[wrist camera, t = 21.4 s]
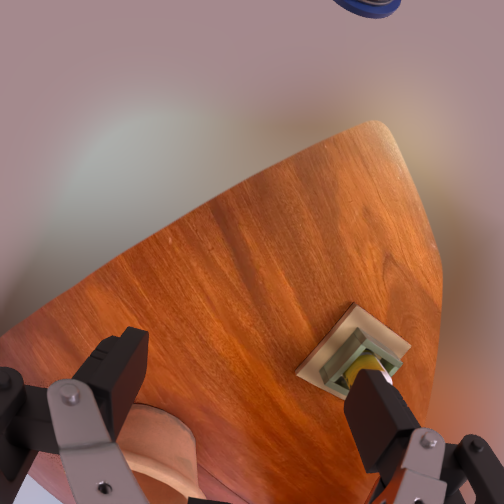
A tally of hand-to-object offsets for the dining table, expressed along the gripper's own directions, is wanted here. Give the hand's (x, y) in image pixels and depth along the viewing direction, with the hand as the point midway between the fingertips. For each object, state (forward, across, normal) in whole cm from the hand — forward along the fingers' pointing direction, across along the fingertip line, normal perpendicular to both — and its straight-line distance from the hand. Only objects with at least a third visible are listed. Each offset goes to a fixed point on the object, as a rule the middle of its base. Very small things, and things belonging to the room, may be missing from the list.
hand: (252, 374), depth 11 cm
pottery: (+27, +10, +38) cm, 47 cm away
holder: (+28, -19, +14) cm, 36 cm away
